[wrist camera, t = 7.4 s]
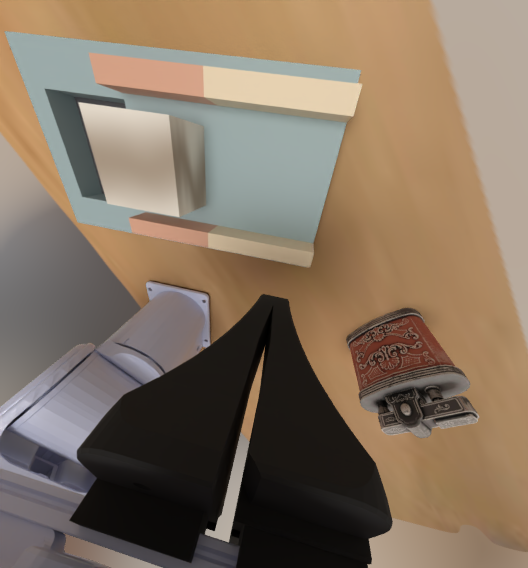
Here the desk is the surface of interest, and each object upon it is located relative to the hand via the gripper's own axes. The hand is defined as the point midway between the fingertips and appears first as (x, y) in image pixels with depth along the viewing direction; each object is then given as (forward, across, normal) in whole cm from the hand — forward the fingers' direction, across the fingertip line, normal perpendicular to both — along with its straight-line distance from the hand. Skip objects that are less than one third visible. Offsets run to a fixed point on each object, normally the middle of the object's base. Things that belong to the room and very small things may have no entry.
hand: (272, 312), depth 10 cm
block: (+8, +10, -5) cm, 13 cm away
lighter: (+11, -12, +8) cm, 18 cm away
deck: (+10, +9, -5) cm, 15 cm away
